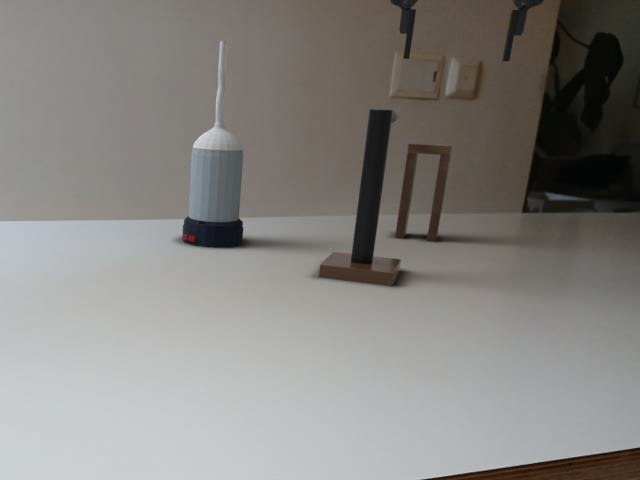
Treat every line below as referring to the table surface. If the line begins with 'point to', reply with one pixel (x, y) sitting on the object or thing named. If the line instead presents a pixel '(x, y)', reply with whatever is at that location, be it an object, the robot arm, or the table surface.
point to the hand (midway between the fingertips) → (454, 60)
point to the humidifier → (215, 181)
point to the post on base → (367, 214)
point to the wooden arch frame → (408, 182)
